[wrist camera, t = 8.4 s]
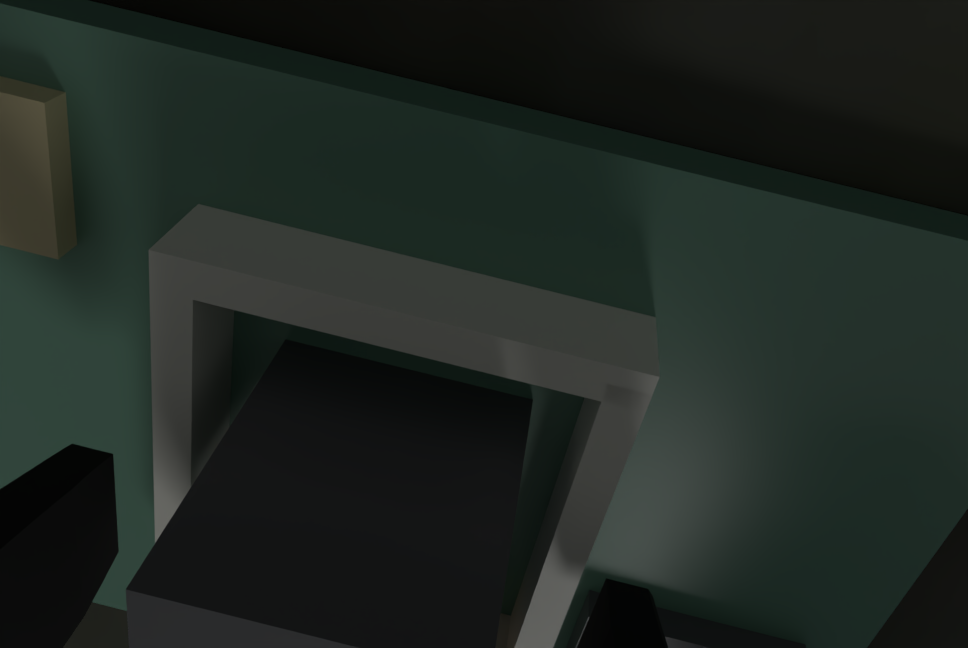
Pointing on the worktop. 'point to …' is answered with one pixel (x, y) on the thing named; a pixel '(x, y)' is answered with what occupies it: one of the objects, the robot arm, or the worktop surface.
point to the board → (485, 318)
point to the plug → (342, 515)
